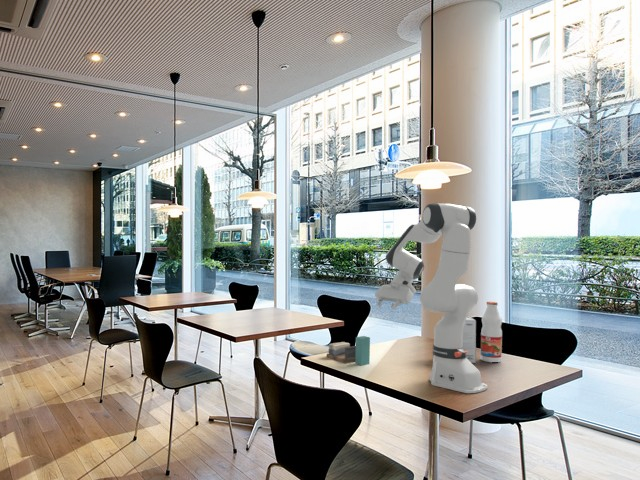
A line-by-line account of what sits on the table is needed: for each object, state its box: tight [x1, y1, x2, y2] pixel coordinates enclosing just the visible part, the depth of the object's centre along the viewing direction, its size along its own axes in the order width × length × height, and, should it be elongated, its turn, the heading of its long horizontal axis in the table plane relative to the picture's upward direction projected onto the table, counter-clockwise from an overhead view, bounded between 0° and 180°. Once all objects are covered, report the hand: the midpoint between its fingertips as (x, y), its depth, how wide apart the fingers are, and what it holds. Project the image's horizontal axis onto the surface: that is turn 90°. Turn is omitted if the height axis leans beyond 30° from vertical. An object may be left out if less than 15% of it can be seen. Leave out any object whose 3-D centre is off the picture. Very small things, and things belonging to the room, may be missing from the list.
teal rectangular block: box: [354, 335, 371, 366], centre depth 209 cm, size 4×5×12 cm
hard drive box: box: [439, 317, 477, 364], centre depth 218 cm, size 16×8×20 cm, turn 84°
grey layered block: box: [326, 341, 356, 364], centre depth 218 cm, size 14×12×6 cm
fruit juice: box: [480, 300, 503, 363], centre depth 220 cm, size 9×9×28 cm
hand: (385, 307), depth 218 cm, fingers open, 8 cm apart
